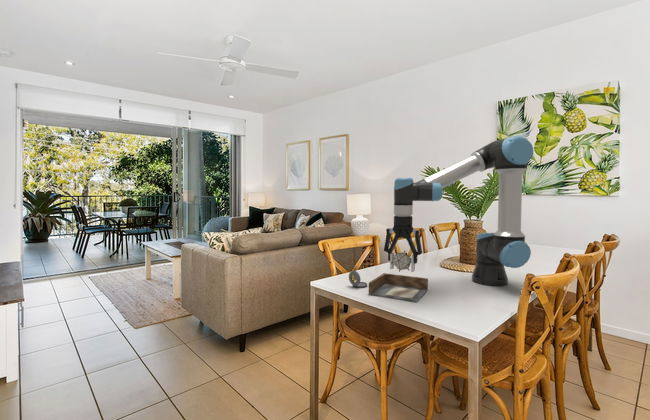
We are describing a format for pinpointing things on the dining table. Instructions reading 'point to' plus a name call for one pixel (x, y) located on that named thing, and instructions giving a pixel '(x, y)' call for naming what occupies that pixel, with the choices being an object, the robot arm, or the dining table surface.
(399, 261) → the game die
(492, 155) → the robot arm
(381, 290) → the tray
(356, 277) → the pocket watch
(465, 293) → the dining table surface
